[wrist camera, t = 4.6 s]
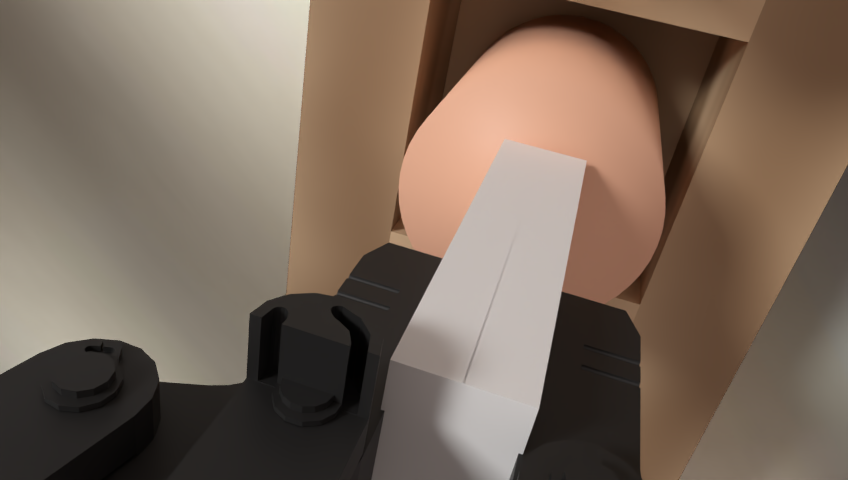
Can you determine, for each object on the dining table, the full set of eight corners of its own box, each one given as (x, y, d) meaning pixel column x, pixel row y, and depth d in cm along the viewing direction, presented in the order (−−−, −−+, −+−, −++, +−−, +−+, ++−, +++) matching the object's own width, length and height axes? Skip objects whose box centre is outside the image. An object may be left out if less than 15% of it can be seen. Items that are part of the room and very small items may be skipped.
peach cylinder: (449, 173, 20) (382, 278, 15) (486, -6, 17) (421, 46, 12) (622, 221, 19) (614, 350, 14) (688, 41, 16) (709, 117, 11)
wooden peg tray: (322, 360, 26) (274, 433, 23) (432, -537, 14) (365, -670, 10) (636, 463, 24) (635, 560, 21) (1082, -463, 12) (1255, -595, 9)
